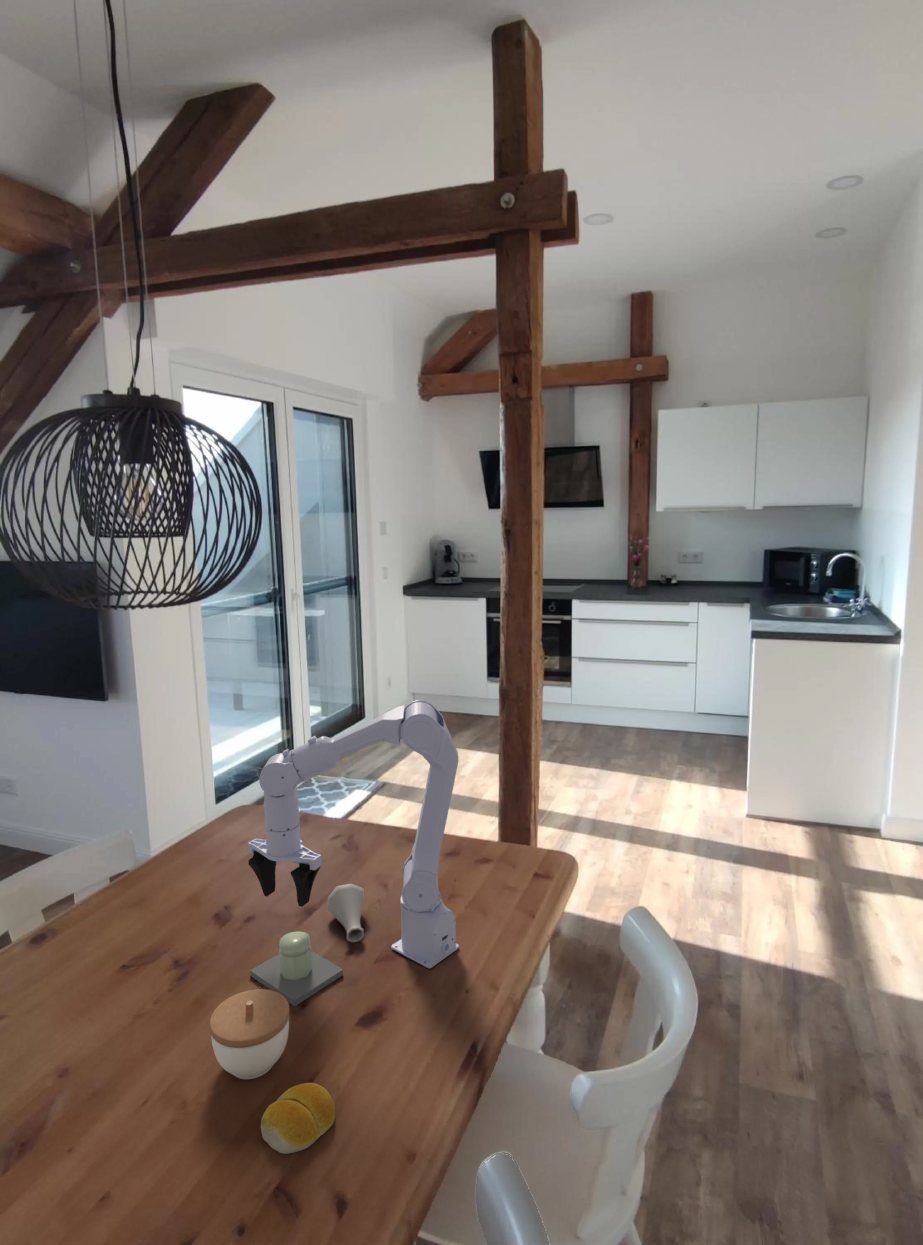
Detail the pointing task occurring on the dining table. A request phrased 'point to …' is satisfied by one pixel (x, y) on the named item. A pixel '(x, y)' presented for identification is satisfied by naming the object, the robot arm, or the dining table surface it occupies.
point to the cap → (295, 955)
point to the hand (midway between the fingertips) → (286, 898)
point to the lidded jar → (250, 1032)
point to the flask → (348, 909)
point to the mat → (299, 988)
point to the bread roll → (298, 1118)
